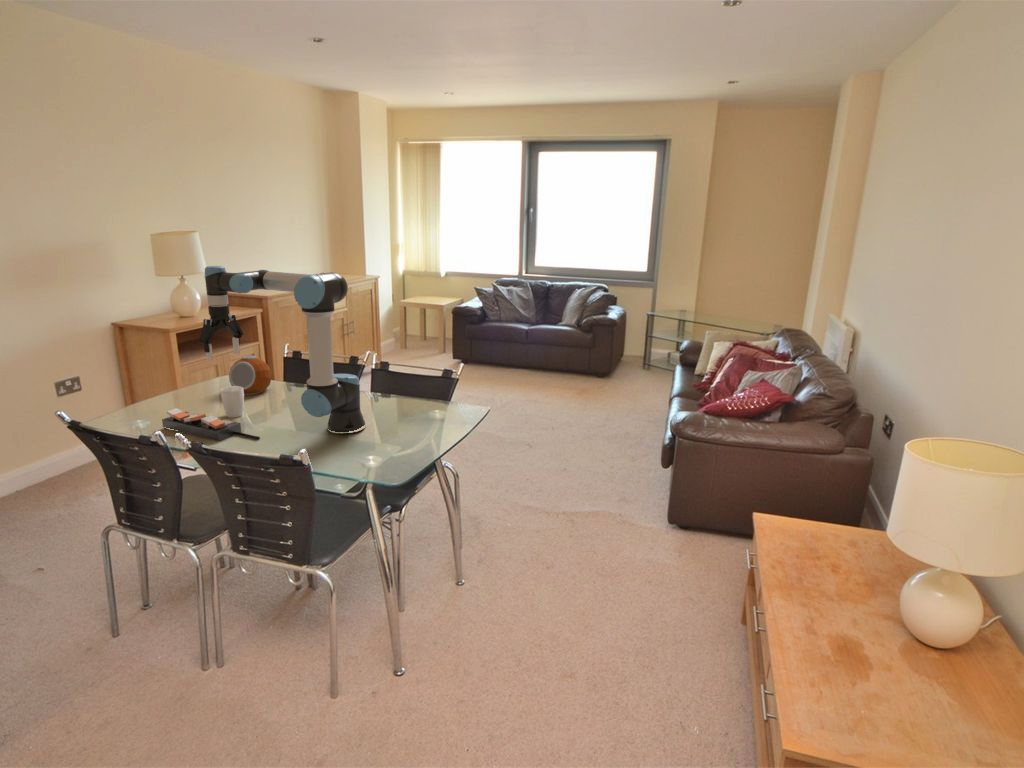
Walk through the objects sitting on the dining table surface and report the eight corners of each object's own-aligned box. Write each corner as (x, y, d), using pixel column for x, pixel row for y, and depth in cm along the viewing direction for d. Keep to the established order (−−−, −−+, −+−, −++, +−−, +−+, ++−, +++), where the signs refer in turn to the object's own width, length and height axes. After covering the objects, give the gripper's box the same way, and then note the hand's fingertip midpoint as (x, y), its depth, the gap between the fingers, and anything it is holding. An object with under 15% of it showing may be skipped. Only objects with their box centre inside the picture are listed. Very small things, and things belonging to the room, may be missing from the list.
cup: (237, 419, 255) (234, 392, 251) (218, 417, 256) (215, 390, 253) (250, 412, 263) (247, 386, 260) (232, 410, 265) (229, 384, 262)
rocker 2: (206, 416, 238) (205, 413, 238) (196, 420, 234) (195, 417, 234) (194, 418, 241) (193, 415, 241) (184, 421, 237) (183, 418, 237)
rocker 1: (189, 417, 242) (189, 414, 242) (179, 420, 238) (179, 418, 237) (176, 410, 244) (176, 408, 243) (166, 413, 240) (166, 411, 239)
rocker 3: (224, 425, 235) (225, 422, 235) (215, 428, 231) (215, 425, 231) (211, 417, 237) (211, 415, 237) (201, 421, 233) (202, 418, 233)
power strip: (264, 437, 237) (263, 425, 235) (243, 446, 227) (241, 434, 226) (186, 420, 252) (185, 409, 250) (163, 428, 242) (161, 416, 240)
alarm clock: (222, 394, 287) (219, 359, 282) (244, 384, 303) (241, 351, 298) (259, 397, 284) (256, 362, 279) (279, 387, 301) (276, 354, 296)
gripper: (236, 300, 253) (240, 349, 259) (184, 308, 231) (190, 361, 237) (249, 302, 250) (253, 351, 256) (198, 310, 228) (204, 364, 234)
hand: (223, 356), depth 246 cm, fingers open, 13 cm apart
